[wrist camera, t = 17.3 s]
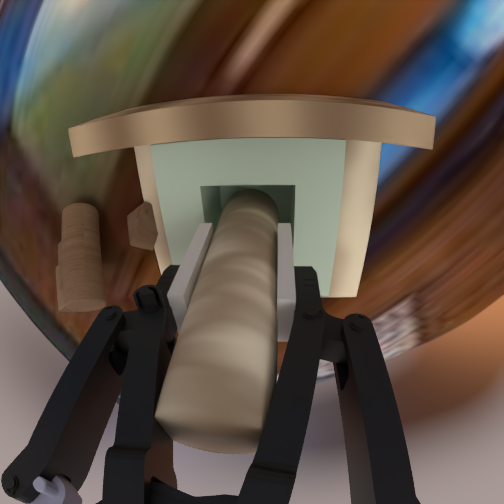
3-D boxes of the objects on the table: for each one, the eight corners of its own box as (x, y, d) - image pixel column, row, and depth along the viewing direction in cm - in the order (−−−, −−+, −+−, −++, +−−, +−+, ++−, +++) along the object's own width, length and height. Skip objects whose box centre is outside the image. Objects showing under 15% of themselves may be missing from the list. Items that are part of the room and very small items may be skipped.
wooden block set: (83, 260, 37) (91, 331, 33) (31, 251, 29) (34, 330, 26) (164, 195, 30) (182, 288, 26) (98, 167, 22) (103, 279, 19)
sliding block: (326, 123, 22) (345, 140, 16) (319, 247, 28) (328, 295, 22) (182, 126, 23) (150, 145, 17) (198, 246, 29) (179, 292, 23)
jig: (380, 100, 21) (436, 116, 12) (354, 291, 32) (372, 360, 24) (133, 107, 23) (68, 128, 14) (168, 287, 34) (141, 352, 26)
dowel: (278, 188, 20) (276, 417, 7) (278, 237, 22) (272, 456, 9) (221, 189, 20) (134, 401, 7) (226, 237, 23) (170, 445, 9)
